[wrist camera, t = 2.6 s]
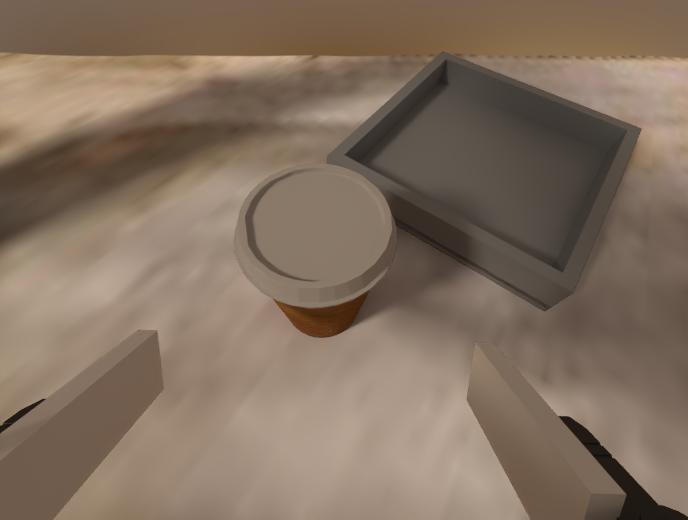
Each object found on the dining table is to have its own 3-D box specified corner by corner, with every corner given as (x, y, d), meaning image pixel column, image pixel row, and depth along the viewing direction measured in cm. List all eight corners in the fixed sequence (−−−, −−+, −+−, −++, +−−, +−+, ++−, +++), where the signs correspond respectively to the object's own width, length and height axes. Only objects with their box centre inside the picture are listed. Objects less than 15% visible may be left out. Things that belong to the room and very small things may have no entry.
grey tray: (327, 185, 35) (326, 156, 32) (434, 81, 45) (442, 51, 42) (544, 311, 29) (573, 292, 25) (614, 157, 39) (641, 128, 35)
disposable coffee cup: (399, 316, 28) (436, 238, 18) (303, 382, 25) (281, 334, 15) (337, 239, 32) (338, 137, 22) (248, 288, 29) (200, 199, 19)
